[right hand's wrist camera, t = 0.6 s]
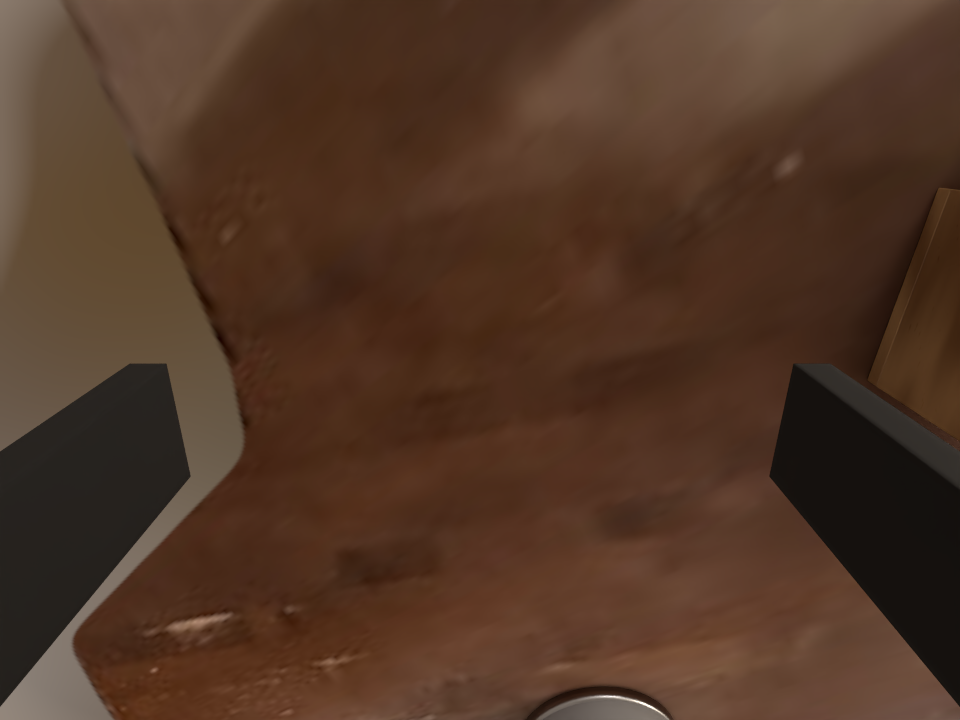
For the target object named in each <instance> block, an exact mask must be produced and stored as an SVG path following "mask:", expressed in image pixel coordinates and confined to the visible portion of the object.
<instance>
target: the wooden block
mask: <svg viewBox="0 0 960 720" xmlns="http://www.w3.org/2000/svg"><path fill="white" fill-rule="evenodd" d="M867 381H869V382H870V383H872V384H873V385H875V386H877V387H878V388H879V389H881V390H882V391H884V392H885V393H887V394H888V395H890V396H891V397H893V398H895V399H896V400H898V401H899V402H901V403H902V404H904V405H905V406H907V407H908V408H910V409H911V410H913V411H914V412H916V413H917V414H919V415H920V416H922V417H923V418H925V419H927V420H928V421H930V422H931V423H933V424H934V425H936V426H937V427H939V428H940V429H942V430H943V431H945V432H946V433H948V434H949V435H951V436H952V437H954V438H955V439H957V440H959V441H960V190H957V189H947V188H938V191H937V193H936V196H935V199H934V201H933V204H932V207H931V209H930V212H929V215H928V217H927V220H926V223H925V226H924V228H923V231H922V234H921V236H920V239H919V242H918V244H917V247H916V250H915V253H914V255H913V258H912V261H911V263H910V266H909V269H908V271H907V274H906V277H905V279H904V282H903V285H902V288H901V290H900V293H899V296H898V298H897V301H896V304H895V306H894V309H893V312H892V315H891V317H890V320H889V323H888V325H887V328H886V331H885V333H884V336H883V339H882V341H881V344H880V347H879V350H878V352H877V355H876V358H875V360H874V363H873V366H872V368H871V371H870V374H869V377H868V379H867Z"/></svg>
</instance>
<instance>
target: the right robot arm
mask: <svg viewBox="0 0 960 720" xmlns="http://www.w3.org/2000/svg"><path fill="white" fill-rule="evenodd" d="M189 478H190V471H189V467H188V462H187V457H186V453H185V448H184V444H183V439H182V434H181V429H180V425H179V420H178V415H177V411H176V406H175V401H174V397H173V392H172V388H171V383H170V378H169V373H168V369H167V364H129V365H127V366H126V367H124V368H123V369H121V370H120V371H118V372H117V373H115V374H114V375H112V376H111V377H109V378H108V379H107V380H105V381H104V382H102V383H101V384H99V385H98V386H96V387H95V388H93V389H92V390H90V391H89V392H87V393H86V394H84V395H83V396H81V397H80V398H79V399H77V400H76V401H74V402H73V403H71V404H70V405H68V406H67V407H65V408H64V409H62V410H61V411H59V412H58V413H56V414H55V415H53V416H52V417H51V418H49V419H48V420H46V421H45V422H43V423H42V424H40V425H39V426H37V427H36V428H34V429H33V430H31V431H30V432H28V433H27V434H25V435H24V436H23V437H21V438H20V439H18V440H17V441H15V442H14V443H12V444H11V445H9V446H8V447H6V448H5V449H3V450H2V451H0V706H1V705H2V704H3V703H4V701H5V700H6V699H7V698H8V697H9V695H10V694H11V693H12V692H13V690H14V689H15V688H16V687H17V686H18V684H19V683H20V682H21V681H22V680H23V678H24V677H25V676H26V675H27V674H28V672H29V671H30V670H31V669H32V668H33V666H34V665H35V664H36V663H37V662H38V660H39V659H40V658H41V657H42V655H43V654H44V653H45V652H46V651H47V649H48V648H49V647H50V646H51V645H52V643H53V642H54V641H55V640H56V639H57V637H58V636H59V635H60V634H61V633H62V631H63V630H64V629H65V628H66V626H67V625H68V624H69V623H70V622H71V620H72V619H73V618H74V617H75V616H76V614H77V613H78V612H79V611H80V609H81V608H82V607H83V606H84V605H85V603H86V602H87V601H88V600H89V599H90V597H91V596H92V595H93V594H94V593H95V591H96V590H97V589H98V588H99V586H100V585H101V584H102V583H103V582H104V580H105V579H106V578H107V577H108V576H109V574H110V573H111V572H112V571H113V570H114V568H115V567H116V566H117V565H118V564H119V562H120V561H121V560H122V559H123V557H124V556H125V555H126V554H127V553H128V551H129V550H130V549H131V548H132V547H133V545H134V544H135V543H136V542H137V541H138V539H139V538H140V537H141V536H142V535H143V533H144V532H145V531H146V530H147V528H148V527H149V526H150V525H151V524H152V522H153V521H154V520H155V519H156V518H157V516H158V515H159V514H160V513H161V511H162V510H163V509H164V508H165V507H166V505H167V504H168V503H169V502H170V501H171V499H172V498H173V497H174V496H175V495H176V493H177V492H178V491H179V490H180V489H181V487H182V486H183V485H184V484H185V482H186V481H187V480H188V479H189ZM770 478H771V479H772V480H773V481H774V482H775V484H776V485H777V486H778V487H779V489H780V490H781V491H782V492H783V493H784V495H785V496H786V497H787V498H788V499H789V501H790V502H791V503H792V504H793V505H794V507H795V508H796V509H797V510H798V512H799V513H800V514H801V515H802V516H803V518H804V519H805V520H806V521H807V522H808V524H809V525H810V526H811V527H812V528H813V530H814V531H815V532H816V533H817V535H818V536H819V537H820V538H821V539H822V541H823V542H824V543H825V544H826V545H827V547H828V548H829V549H830V550H831V551H832V553H833V554H834V555H835V556H836V557H837V559H838V560H839V561H840V562H841V564H842V565H843V566H844V567H845V568H846V570H847V571H848V572H849V573H850V574H851V576H852V577H853V578H854V579H855V580H856V582H857V583H858V584H859V585H860V587H861V588H862V589H863V590H864V591H865V593H866V594H867V595H868V596H869V597H870V599H871V600H872V601H873V602H874V603H875V605H876V606H877V607H878V608H879V610H880V611H881V612H882V613H883V614H884V616H885V617H886V618H887V619H888V620H889V622H890V623H891V624H892V625H893V626H894V628H895V629H896V630H897V631H898V633H899V634H900V635H901V636H902V637H903V639H904V640H905V641H906V642H907V643H908V645H909V646H910V647H911V648H912V649H913V651H914V652H915V653H916V654H917V655H918V657H919V658H920V659H921V660H922V662H923V663H924V664H925V665H926V666H927V668H928V669H929V670H930V671H931V672H932V674H933V675H934V676H935V677H936V678H937V680H938V681H939V682H940V683H941V685H942V686H943V687H944V688H945V689H946V691H947V692H948V693H949V694H950V695H951V697H952V698H953V699H954V700H955V701H956V703H957V704H958V705H959V706H960V451H958V450H957V449H955V448H954V447H952V446H951V445H949V444H948V443H946V442H945V441H943V440H942V439H940V438H939V437H938V436H936V435H935V434H933V433H932V432H930V431H929V430H927V429H926V428H924V427H923V426H921V425H920V424H918V423H917V422H915V421H914V420H912V419H911V418H909V417H908V416H907V415H905V414H904V413H902V412H901V411H899V410H898V409H896V408H895V407H893V406H892V405H890V404H889V403H887V402H886V401H884V400H883V399H881V398H880V397H879V396H877V395H876V394H874V393H873V392H871V391H870V390H868V389H867V388H865V387H864V386H862V385H861V384H859V383H858V382H856V381H855V380H853V379H852V378H851V377H849V376H848V375H846V374H845V373H843V372H842V371H840V370H839V369H837V368H836V367H834V366H833V365H831V364H793V369H792V373H791V378H790V383H789V387H788V392H787V397H786V401H785V406H784V411H783V415H782V420H781V425H780V429H779V434H778V439H777V443H776V448H775V453H774V457H773V462H772V467H771V471H770ZM527 720H673V718H672V716H671V715H670V714H669V712H668V711H667V710H666V709H665V708H664V707H663V706H662V705H661V704H659V703H658V702H657V701H655V700H653V699H652V698H650V697H648V696H646V695H644V694H641V693H638V692H636V691H632V690H628V689H623V688H616V687H591V688H583V689H578V690H574V691H570V692H567V693H564V694H562V695H559V696H557V697H555V698H553V699H551V700H549V701H547V702H546V703H544V704H542V705H541V706H540V707H538V708H537V709H536V710H535V711H534V712H533V713H532V714H531V715H530V716H529V717H528V718H527Z"/></svg>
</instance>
